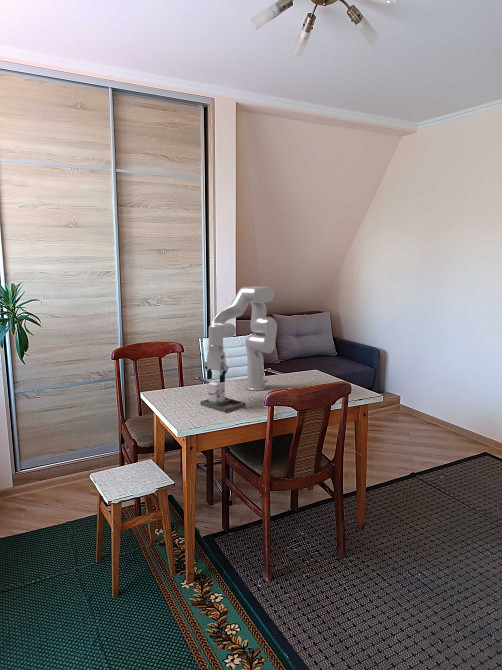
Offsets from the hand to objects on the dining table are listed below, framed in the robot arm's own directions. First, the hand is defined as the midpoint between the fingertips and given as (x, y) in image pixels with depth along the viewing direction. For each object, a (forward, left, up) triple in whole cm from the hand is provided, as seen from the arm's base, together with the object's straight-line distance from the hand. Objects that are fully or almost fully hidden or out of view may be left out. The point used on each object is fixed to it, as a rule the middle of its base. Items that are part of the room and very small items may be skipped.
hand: (215, 380), depth 244 cm
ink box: (-1, 0, -13) cm, 13 cm away
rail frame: (-1, +4, -13) cm, 14 cm away
